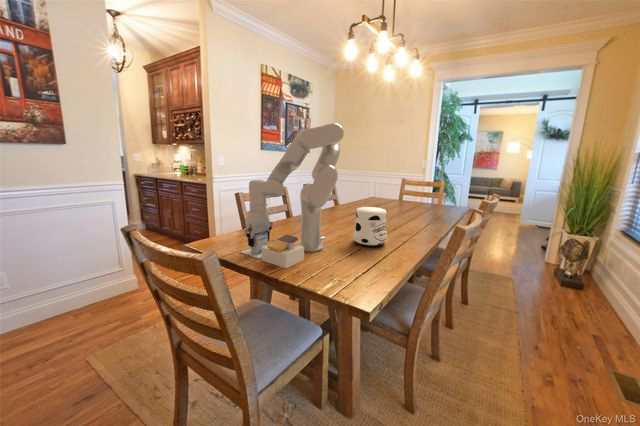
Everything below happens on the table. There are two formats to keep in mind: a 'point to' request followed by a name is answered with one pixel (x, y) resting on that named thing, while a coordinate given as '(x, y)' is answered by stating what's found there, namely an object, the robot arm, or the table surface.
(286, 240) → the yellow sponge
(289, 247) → the switch box
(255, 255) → the pad
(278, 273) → the table surface
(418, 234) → the table surface
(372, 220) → the milk container
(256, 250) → the medicine box
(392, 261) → the table surface
